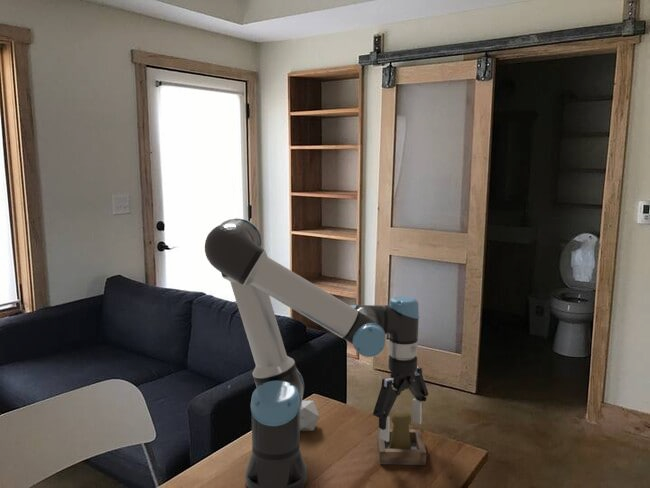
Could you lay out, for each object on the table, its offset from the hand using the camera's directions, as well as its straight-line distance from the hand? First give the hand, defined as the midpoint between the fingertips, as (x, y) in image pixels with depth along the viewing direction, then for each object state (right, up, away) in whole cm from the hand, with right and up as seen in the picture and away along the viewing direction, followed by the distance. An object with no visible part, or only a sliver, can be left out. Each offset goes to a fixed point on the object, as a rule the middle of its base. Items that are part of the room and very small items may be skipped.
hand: (401, 430), depth 145 cm
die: (-26, -4, +14) cm, 30 cm away
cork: (0, -6, +1) cm, 6 cm away
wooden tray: (0, -6, +1) cm, 6 cm away
